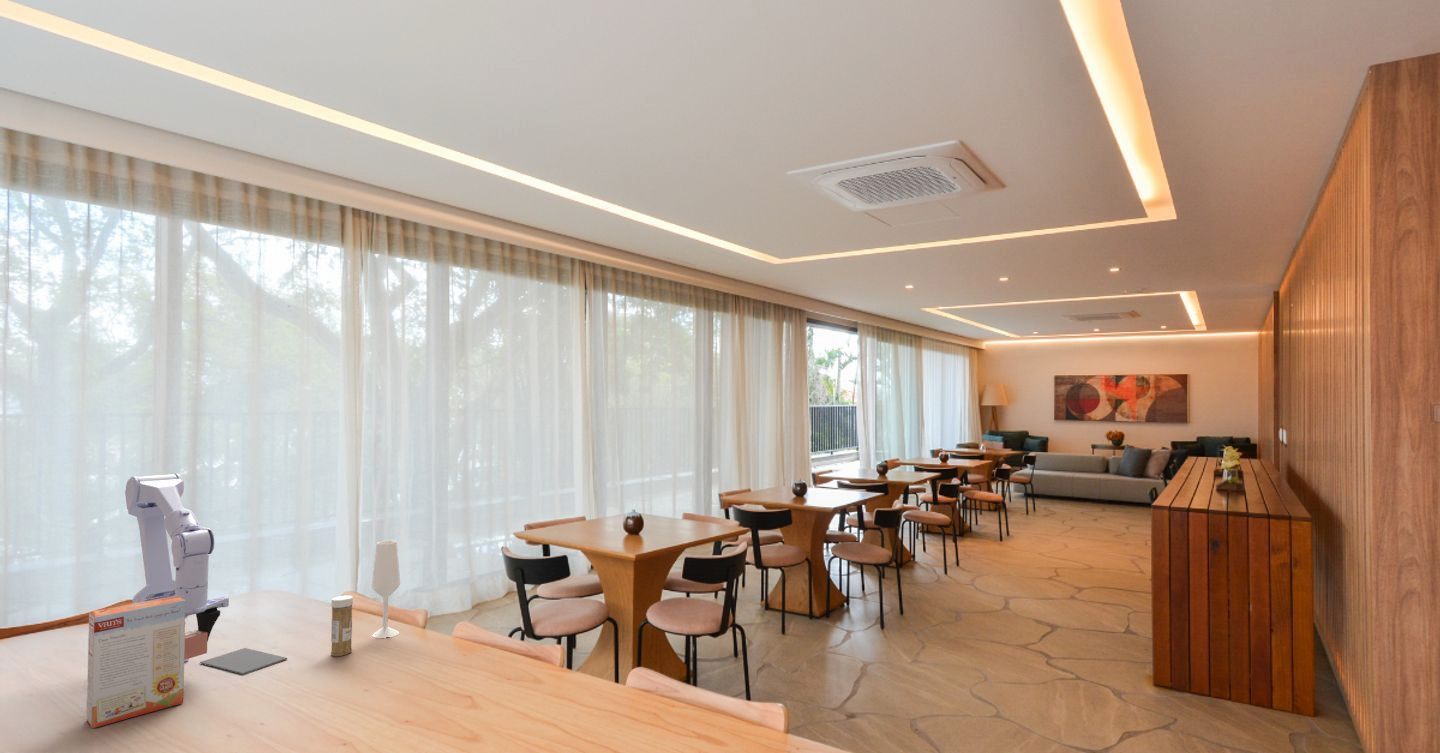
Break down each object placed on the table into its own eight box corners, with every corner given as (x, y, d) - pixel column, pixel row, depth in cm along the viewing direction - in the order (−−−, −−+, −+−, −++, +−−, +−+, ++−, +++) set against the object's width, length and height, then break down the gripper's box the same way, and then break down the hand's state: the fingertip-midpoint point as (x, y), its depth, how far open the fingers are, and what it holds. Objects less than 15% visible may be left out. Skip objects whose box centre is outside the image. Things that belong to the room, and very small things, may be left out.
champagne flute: (364, 637, 176) (366, 543, 177) (384, 629, 183) (386, 538, 184) (385, 639, 174) (387, 545, 175) (405, 631, 181) (406, 540, 182)
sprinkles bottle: (352, 654, 164) (353, 598, 165) (331, 658, 162) (332, 601, 162) (350, 648, 168) (352, 593, 169) (329, 652, 166) (330, 596, 166)
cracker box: (176, 696, 141) (179, 594, 142) (184, 704, 137) (187, 599, 138) (84, 720, 130) (88, 609, 131) (90, 730, 126) (94, 615, 127)
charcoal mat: (199, 663, 158) (200, 661, 159) (244, 649, 168) (245, 647, 168) (242, 674, 152) (242, 673, 152) (287, 659, 161) (287, 657, 161)
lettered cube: (171, 656, 148) (172, 635, 149) (194, 650, 152) (195, 628, 153) (184, 660, 147) (184, 638, 147) (207, 653, 151) (207, 631, 151)
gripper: (164, 596, 142) (161, 662, 141) (237, 579, 155) (235, 640, 155) (145, 592, 145) (142, 657, 144) (218, 576, 158) (217, 635, 157)
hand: (189, 648), depth 150 cm, fingers closed on lettered cube, 4 cm apart
